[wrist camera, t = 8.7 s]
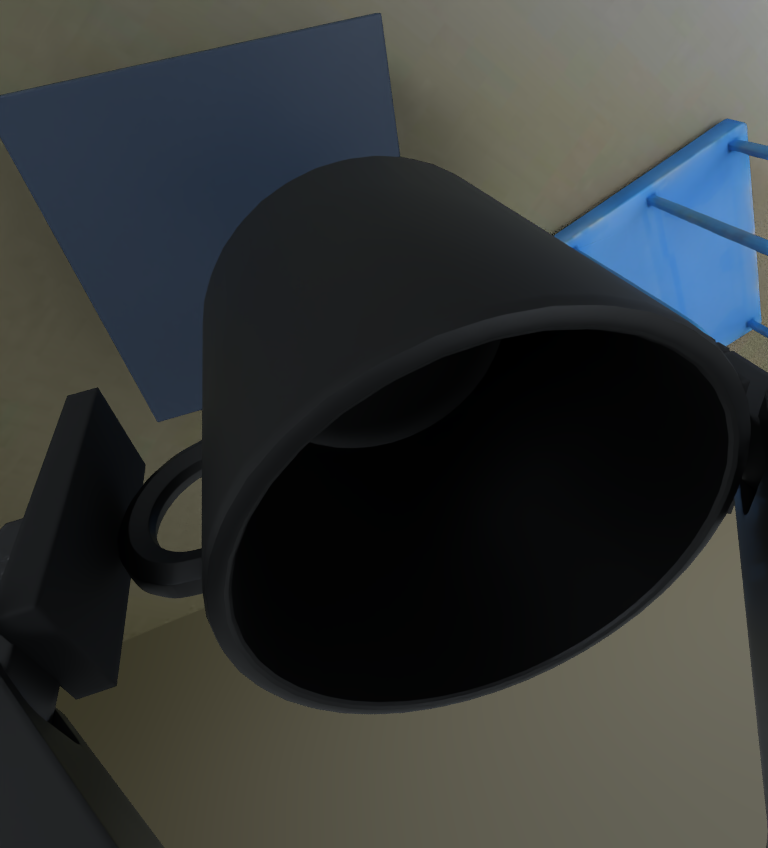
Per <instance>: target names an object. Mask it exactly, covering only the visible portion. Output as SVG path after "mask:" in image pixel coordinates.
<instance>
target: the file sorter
mask: <svg viewBox="0 0 768 848" xmlns="http://www.w3.org/2000/svg"><path fill="white" fill-rule="evenodd" d="M749 155H750V156H754V157H758V158H762V159H766V160H768V146H766V145H761V144H757V143H753V142H748V136H747V125H746V124H745V123H744V122H739V121H735V120H731V119H725V120H723V121H721V122H720V123H718V124H717V125H715V126H714V127H713V128H711V129H710V130H708V131H707V132H705V133H704V134H703V135H701V136H700V137H698V138H697V139H695V140H694V141H692V142H691V143H689V144H688V145H687V146H685V147H684V148H682V149H681V150H679V151H678V152H676V153H675V154H673V155H672V156H670V157H669V158H668V159H666V160H665V161H663V162H662V163H660V164H659V165H657V166H656V167H654V168H653V169H651V170H650V171H648V172H647V173H645V174H644V175H642V176H641V177H639V178H638V179H636V180H635V181H633V182H632V183H630V184H629V185H628V186H626V187H625V188H623V189H622V190H620V191H619V192H617V193H616V194H614V195H613V196H611V197H610V198H608V199H607V200H606V201H604V202H603V203H601V204H600V205H598V206H597V207H595V208H594V209H592V210H591V211H589V212H588V213H586V214H585V215H584V216H582V217H581V218H579V219H578V220H576V221H575V222H573V223H572V224H570V225H569V226H567V227H566V228H564V229H563V230H561V231H560V232H558V233H557V234H555V235H554V237H556V238H557V239H559V240H561V241H562V242H564V243H565V244H567V245H568V246H570V247H572V248H573V249H575V250H576V251H578V252H580V253H581V254H583V255H584V256H586V257H588V258H589V259H591V260H592V261H594V262H596V263H597V264H599V265H600V266H602V267H603V268H605V269H607V270H608V271H610V272H611V273H613V274H615V275H616V276H618V277H619V278H621V279H623V280H624V281H626V282H627V283H629V284H630V285H632V286H634V287H635V288H637V289H638V290H640V291H642V292H643V293H645V294H646V295H648V296H650V297H651V298H653V299H654V300H656V301H657V302H659V303H661V304H662V305H664V306H665V307H667V308H669V309H670V310H672V311H673V312H675V313H677V314H678V315H680V316H681V317H683V318H685V319H686V320H688V321H689V322H690V323H692V324H693V325H694V326H696V327H697V328H699V329H700V330H701V331H703V332H704V333H706V334H707V335H709V336H710V337H712V338H714V339H715V341H716V342H720V343H721V344H723V345H725V346H727V345H729V344H730V343H732V342H733V341H735V340H737V339H738V338H740V337H741V336H743V335H744V334H746V333H748V332H749V331H751V330H752V329H753V330H755V331H757V332H758V333H760V334H762V335H763V336H765V337H767V338H768V328H767V327H765V326H764V325H762V324H760V323H761V321H762V320H761V311H760V296H759V281H758V269H757V254H756V251H758V252H760V253H762V254H765V255H767V256H768V240H766V239H764V238H761V237H759V236H756V235H755V226H754V213H753V200H752V187H751V175H750V162H749Z"/></svg>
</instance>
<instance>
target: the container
mask: <svg viewBox="0 0 768 848" xmlns="http://www.w3.org/2000/svg"><path fill="white" fill-rule="evenodd" d="M0 138H1V140H2V142H3V143H4V145H5V147H6V149H7V151H8V152H9V154H10V156H11V158H12V160H13V161H14V163H15V165H16V167H17V169H18V170H19V172H20V174H21V176H22V178H23V180H24V181H25V183H26V185H27V187H28V189H29V190H30V192H31V194H32V196H33V198H34V199H35V201H36V203H37V205H38V207H39V208H40V210H41V212H42V214H43V216H44V217H45V219H46V221H47V223H48V225H49V227H50V228H51V230H52V232H53V234H54V236H55V237H56V239H57V241H58V243H59V245H60V246H61V248H62V250H63V252H64V254H65V255H66V257H67V259H68V261H69V263H70V265H71V266H72V268H73V270H74V272H75V274H76V275H77V277H78V279H79V281H80V283H81V284H82V286H83V288H84V290H85V292H86V293H87V295H88V297H89V299H90V301H91V303H92V304H93V306H94V308H95V310H96V312H97V313H98V315H99V317H100V319H101V321H102V322H103V324H104V326H105V328H106V330H107V331H108V333H109V335H110V337H111V339H112V340H113V342H114V344H115V346H116V348H117V350H118V351H119V353H120V355H121V357H122V359H123V360H124V362H125V364H126V366H127V368H128V369H129V371H130V373H131V375H132V377H133V378H134V380H135V382H136V384H137V386H138V388H139V389H140V391H141V393H142V395H143V397H144V398H145V400H146V402H147V404H148V406H149V407H150V409H151V411H152V413H153V415H154V416H155V418H156V420H157V422H160V421H164V420H167V419H171V418H174V417H178V416H181V415H185V414H188V413H192V412H195V411H199V410H202V349H203V310H204V300H205V296H206V292H207V288H208V284H209V280H210V277H211V274H212V272H213V269H214V267H215V264H216V262H217V260H218V258H219V256H220V254H221V251H222V249H223V247H224V246H225V244H226V243H227V241H228V240H229V239H230V237H231V236H232V234H233V233H234V231H235V230H236V228H237V227H238V226H239V225H240V223H241V222H242V221H243V220H244V219H245V218H246V217H247V215H248V214H249V213H250V212H251V211H252V210H253V209H254V208H255V207H256V206H257V205H258V204H259V203H260V202H261V201H262V200H264V199H265V198H266V197H268V196H269V195H270V194H272V193H273V192H275V191H276V190H277V189H279V188H280V187H281V186H283V185H285V184H286V183H288V182H289V181H291V180H293V179H295V178H297V177H299V176H301V175H303V174H305V173H307V172H309V171H311V170H313V169H315V168H318V167H321V166H325V165H328V164H331V163H335V162H338V161H342V160H347V159H352V158H360V157H369V156H390V157H400V152H399V144H398V137H397V129H396V122H395V114H394V107H393V99H392V92H391V84H390V77H389V69H388V62H387V54H386V47H385V39H384V32H383V24H382V17H381V13H374V14H369V15H365V16H360V17H355V18H351V19H346V20H342V21H337V22H332V23H328V24H323V25H319V26H314V27H310V28H305V29H300V30H296V31H291V32H287V33H282V34H278V35H273V36H268V37H264V38H259V39H255V40H250V41H246V42H241V43H236V44H232V45H227V46H223V47H218V48H213V49H209V50H204V51H200V52H195V53H191V54H186V55H181V56H177V57H172V58H168V59H163V60H159V61H154V62H149V63H145V64H140V65H136V66H131V67H126V68H122V69H117V70H113V71H108V72H104V73H99V74H94V75H90V76H85V77H81V78H76V79H72V80H67V81H62V82H58V83H53V84H49V85H44V86H39V87H35V88H30V89H26V90H21V91H17V92H12V93H7V94H3V95H0Z"/></svg>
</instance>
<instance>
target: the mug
mask: <svg viewBox="0 0 768 848" xmlns="http://www.w3.org/2000/svg"><path fill="white" fill-rule="evenodd" d="M750 436H751V422H750V413H749V404H748V399H747V396H746V393H745V391H744V388H743V386H742V383H741V381H740V378H739V376H738V374H737V372H736V370H735V369H734V367H733V365H732V363H731V362H730V361H729V359H728V358H727V357H726V355H725V354H724V353H723V351H722V350H721V349H720V348H719V346H718V345H717V344H716V342H715V341H714V340H713V339H712V338H711V337H709V336H708V335H707V334H705V333H704V332H703V331H701V330H700V329H699V328H697V327H696V326H694V325H693V324H692V323H690V322H689V321H688V320H686V319H685V318H683V317H681V316H680V315H678V314H677V313H675V312H673V311H672V310H670V309H669V308H667V307H665V306H664V305H662V304H661V303H659V302H657V301H656V300H654V299H653V298H651V297H650V296H648V295H646V294H645V293H643V292H642V291H640V290H638V289H637V288H635V287H634V286H632V285H630V284H629V283H627V282H626V281H624V280H623V279H621V278H619V277H618V276H616V275H615V274H613V273H611V272H610V271H608V270H607V269H605V268H603V267H602V266H600V265H599V264H597V263H596V262H594V261H592V260H591V259H589V258H588V257H586V256H584V255H583V254H581V253H580V252H578V251H576V250H575V249H573V248H572V247H570V246H568V245H567V244H565V243H564V242H562V241H561V240H559V239H557V238H556V237H554V236H553V235H551V234H549V233H548V232H546V231H545V230H543V229H541V228H540V227H538V226H537V225H535V224H534V223H532V222H530V221H529V220H527V219H526V218H524V217H522V216H521V215H519V214H518V213H516V212H514V211H513V210H511V209H510V208H508V207H506V206H505V205H503V204H502V203H500V202H499V201H497V200H495V199H494V198H492V197H491V196H489V195H487V194H486V193H484V192H483V191H481V190H479V189H478V188H476V187H475V186H473V185H472V184H470V183H468V182H467V181H465V180H464V179H462V178H460V177H459V176H457V175H455V174H453V173H451V172H449V171H447V170H445V169H442V168H440V167H438V166H436V165H434V164H430V163H426V162H422V161H418V160H414V159H409V158H403V157H390V156H369V157H360V158H352V159H347V160H342V161H338V162H335V163H331V164H328V165H325V166H321V167H318V168H315V169H313V170H311V171H309V172H307V173H305V174H303V175H301V176H299V177H297V178H295V179H293V180H291V181H289V182H288V183H286V184H285V185H283V186H281V187H280V188H279V189H277V190H276V191H275V192H273V193H272V194H270V195H269V196H268V197H266V198H265V199H264V200H262V201H261V202H260V203H259V204H258V205H257V206H256V207H255V208H254V209H253V210H252V211H251V212H250V213H249V214H248V215H247V217H246V218H245V219H244V220H243V221H242V222H241V223H240V225H239V226H238V227H237V228H236V230H235V231H234V233H233V234H232V236H231V237H230V239H229V240H228V241H227V243H226V244H225V246H224V247H223V249H222V251H221V254H220V256H219V258H218V260H217V262H216V264H215V267H214V269H213V272H212V274H211V277H210V280H209V284H208V288H207V292H206V296H205V300H204V310H203V349H202V440H201V441H199V442H198V443H196V444H194V445H192V446H190V447H188V448H186V449H185V450H183V451H181V452H180V453H178V454H177V455H175V456H174V457H172V458H171V459H170V460H169V461H167V462H166V463H165V464H164V465H163V466H161V467H160V468H159V469H158V470H157V471H156V472H155V473H154V474H152V475H151V477H150V478H149V479H148V480H147V481H146V482H145V483H144V484H143V486H142V487H141V488H140V490H139V491H138V492H137V494H136V495H135V496H134V498H133V499H132V501H131V502H130V504H129V506H128V508H127V510H126V512H125V515H124V517H123V520H122V523H121V526H120V529H119V533H118V551H119V557H120V560H121V563H122V565H123V566H124V568H125V569H126V571H127V572H128V574H129V575H130V577H131V578H132V579H133V581H134V582H135V583H136V584H137V585H138V586H139V587H140V588H141V589H142V590H144V591H146V592H147V593H150V594H154V595H158V596H162V597H168V598H183V597H189V596H193V595H198V594H202V593H203V598H204V604H205V611H206V617H207V619H208V621H209V624H210V626H211V628H212V630H213V632H214V635H215V637H216V639H217V641H218V643H219V645H220V646H221V648H222V650H223V651H224V653H225V654H226V656H227V657H228V658H229V659H230V660H231V662H232V663H233V664H234V665H235V667H236V668H237V669H238V670H239V671H240V672H241V673H242V674H244V675H245V676H246V677H247V678H249V679H250V680H251V681H253V682H254V683H255V684H257V685H258V686H260V687H261V688H263V689H265V690H266V691H268V692H270V693H273V694H274V695H277V696H279V697H281V698H283V699H285V700H287V701H290V702H294V703H297V704H300V705H304V706H307V707H311V708H315V709H320V710H326V711H333V712H339V713H354V714H388V713H405V712H412V711H418V710H425V709H432V708H437V707H442V706H447V705H451V704H455V703H460V702H464V701H468V700H471V699H475V698H478V697H481V696H484V695H487V694H491V693H494V692H497V691H499V690H503V689H505V688H507V687H510V686H513V685H516V684H518V683H521V682H523V681H526V680H528V679H530V678H533V677H535V676H537V675H539V674H541V673H543V672H545V671H548V670H550V669H552V668H554V667H556V666H558V665H560V664H562V663H564V662H566V661H567V660H569V659H571V658H573V657H575V656H576V655H578V654H580V653H582V652H584V651H585V650H587V649H589V648H590V647H592V646H594V645H595V644H596V643H598V642H600V641H601V640H602V639H604V638H606V637H607V636H609V635H610V634H612V633H613V632H615V631H616V630H618V629H619V628H620V627H622V626H623V625H624V624H626V623H627V622H628V621H630V620H631V619H633V618H634V617H635V616H637V615H638V614H639V613H640V612H642V611H643V610H644V609H645V608H646V607H647V606H649V605H650V604H651V603H652V602H653V601H654V600H655V599H657V598H658V597H659V596H660V595H661V594H662V593H663V592H664V591H665V590H666V589H667V588H668V587H670V586H671V584H672V583H673V582H674V581H675V580H676V579H677V578H678V577H679V576H680V575H681V574H682V573H683V572H684V571H685V570H686V569H687V568H688V567H689V566H690V564H691V563H692V562H693V561H694V559H695V558H696V557H697V556H698V554H699V553H700V552H701V551H702V549H703V548H704V547H705V546H706V544H707V543H708V542H709V540H710V539H711V537H712V536H713V534H714V533H715V531H716V530H717V528H718V526H719V525H720V523H721V522H722V520H723V519H724V517H725V516H726V514H727V512H728V509H729V507H730V505H731V503H732V501H733V499H734V497H735V495H736V493H737V490H738V488H739V485H740V483H741V480H742V476H743V473H744V470H745V466H746V463H747V460H748V454H749V445H750ZM201 477H202V548H201V549H197V550H193V551H187V552H172V551H168V550H165V549H163V548H161V547H160V545H159V543H158V541H157V533H158V529H159V526H160V523H161V521H162V519H163V517H164V515H165V513H166V511H167V510H168V508H169V507H170V505H171V504H172V503H173V502H174V500H175V499H176V498H177V497H178V496H179V495H180V494H181V493H182V492H183V491H184V490H185V489H186V488H187V487H188V486H190V485H191V484H192V483H193V482H195V481H196V480H197V479H199V478H201Z"/></svg>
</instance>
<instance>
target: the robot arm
mask: <svg viewBox="0 0 768 848" xmlns="http://www.w3.org/2000/svg"><path fill="white" fill-rule="evenodd" d="M705 334H706V333H705ZM708 336H709V335H708ZM709 337H710V336H709ZM711 338H712V337H711ZM712 339H713V340H714V341H715V339H714V338H712ZM715 342H716V341H715ZM716 344H717V345H718V346H719V348H720V349H721V350H722V351H723V353H724V354H725V355H726V357H727V358H728V359H729V361H730V362H731V363H732V365H733V367H734V369H735V370H736V372H737V374H738V376H739V378H740V381H741V383H742V386H743V388H744V391H745V393H746V396H747V399H748V404H749V413H750V422H751V436H750V445H749V454H748V460H747V463H746V466H745V470H744V473H743V476H742V480H741V483H740V485H739V488H738V490H737V493H736V495H735V497H734V499H733V501H732V503H731V505H730V507H729V509H728V512H727V513H728V514H731V512H732V509H733V506H735V510H736V519H737V529H738V540H739V549H740V559H741V569H742V578H743V589H744V599H745V608H746V618H747V627H748V637H749V648H750V657H751V667H752V677H753V687H754V697H755V705H756V716H757V726H758V736H759V745H760V755H761V765H762V775H763V784H764V795H765V804H766V814H767V828H768V373H767V372H766V371H764V370H763V369H761V368H759V367H758V366H756V365H755V364H753V363H751V362H750V361H748V360H747V359H745V358H744V357H742V356H740V355H739V354H737V353H736V352H734V351H730V350H729V348H728V347H726V346H725V345H723V344H721V343H720V342H716ZM144 473H145V463H144V462H143V460H142V458H141V457H140V455H139V453H138V452H137V450H136V449H135V447H134V445H133V444H132V442H131V440H130V439H129V437H128V436H127V434H126V432H125V431H124V429H123V427H122V426H121V424H120V423H119V421H118V419H117V418H116V416H115V414H114V413H113V411H112V410H111V408H110V406H109V405H108V403H107V401H106V400H105V398H104V397H103V395H102V393H101V392H100V390H99V388H98V387H97V388H94V389H90V390H87V391H83V392H79V393H76V394H72V395H69V396H67V398H66V401H65V404H64V407H63V409H62V412H61V415H60V418H59V420H58V423H57V426H56V429H55V432H54V434H53V437H52V440H51V443H50V445H49V448H48V451H47V454H46V456H45V459H44V462H43V465H42V468H41V470H40V473H39V476H38V479H37V481H36V484H35V487H34V490H33V492H32V495H31V498H30V501H29V504H28V506H27V509H26V512H25V515H24V517H23V518H22V519H19V520H16V521H12V522H9V523H6V524H5V525H4V526H3V527H2V529H1V530H0V848H164V847H163V845H162V844H161V843H160V841H159V840H158V839H157V837H156V836H155V835H154V833H153V832H152V831H151V829H150V828H149V827H148V825H147V824H146V823H145V821H144V820H143V819H142V817H141V816H140V815H139V813H138V812H137V811H136V809H135V808H134V807H133V805H132V804H131V803H130V801H129V800H128V799H127V797H126V796H125V795H124V793H123V792H122V791H121V789H120V788H119V787H118V785H117V784H116V783H115V781H114V780H113V779H112V777H111V776H110V775H109V773H108V772H107V771H106V769H105V768H104V767H103V765H102V764H101V763H100V761H99V760H98V759H97V757H96V756H95V755H94V753H93V752H92V751H91V749H90V748H89V747H88V745H87V744H86V742H85V741H84V740H83V738H82V737H81V736H80V735H79V733H78V732H77V731H76V729H75V728H74V726H73V725H72V724H71V722H70V721H69V720H68V718H67V717H66V716H65V715H64V714H63V713H62V712H61V711H60V710H58V709H57V708H56V707H55V705H56V701H57V696H58V692H59V687H60V686H61V687H62V688H63V689H64V690H66V691H67V692H68V693H69V694H70V695H71V696H73V697H74V698H75V699H80V698H82V697H85V696H88V695H91V694H94V693H97V692H100V691H103V690H106V689H109V688H112V687H115V686H117V679H118V671H119V663H120V656H121V649H122V648H121V647H122V641H123V633H124V626H125V618H126V610H127V603H128V595H129V587H130V580H131V577H130V575H129V574H128V572H127V571H126V569H125V568H124V566H123V565H122V563H121V560H120V557H119V551H118V533H119V529H120V526H121V523H122V520H123V517H124V515H125V512H126V510H127V508H128V506H129V504H130V502H131V501H132V499H133V498H134V496H135V495H136V494H137V492H138V491H139V490H140V488H141V487H142V486H143V480H144ZM767 836H768V835H767ZM766 848H768V837H767V846H766Z"/></svg>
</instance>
